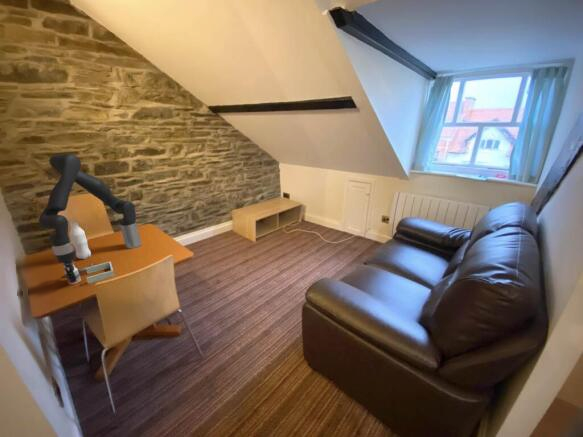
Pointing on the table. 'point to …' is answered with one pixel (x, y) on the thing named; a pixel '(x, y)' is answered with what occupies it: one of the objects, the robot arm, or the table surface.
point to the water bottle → (79, 241)
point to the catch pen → (102, 275)
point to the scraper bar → (83, 269)
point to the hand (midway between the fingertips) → (73, 278)
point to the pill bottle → (75, 276)
